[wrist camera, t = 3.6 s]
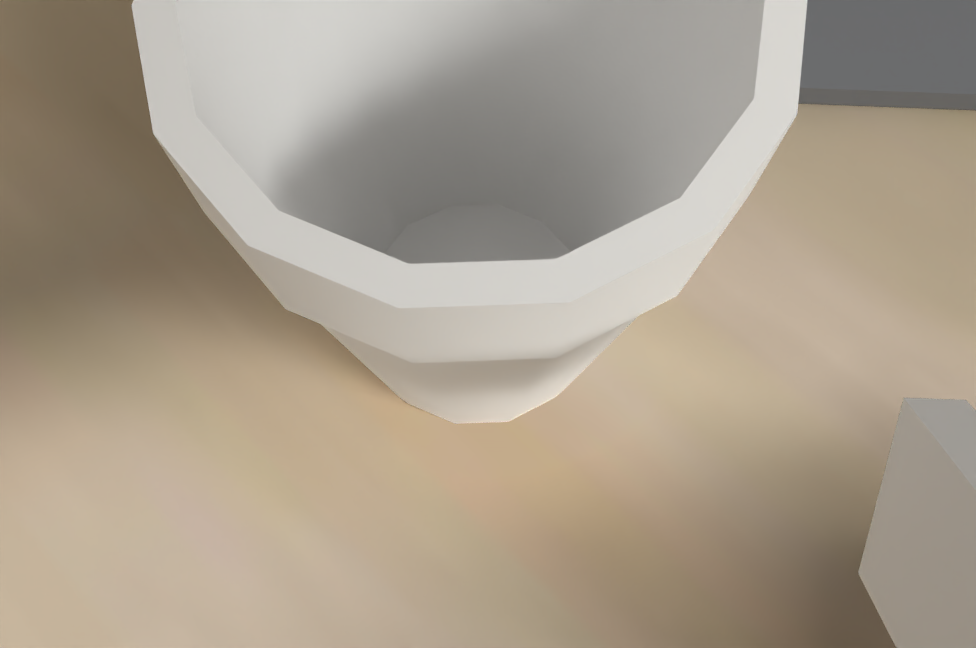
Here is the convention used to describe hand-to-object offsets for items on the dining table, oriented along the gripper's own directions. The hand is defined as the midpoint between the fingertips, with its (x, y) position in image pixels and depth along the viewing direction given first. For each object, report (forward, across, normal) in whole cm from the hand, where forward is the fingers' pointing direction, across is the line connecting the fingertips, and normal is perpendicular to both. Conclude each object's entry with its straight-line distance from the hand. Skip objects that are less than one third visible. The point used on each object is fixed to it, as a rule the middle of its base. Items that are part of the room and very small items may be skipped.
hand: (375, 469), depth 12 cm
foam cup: (+13, +1, -4) cm, 14 cm away
